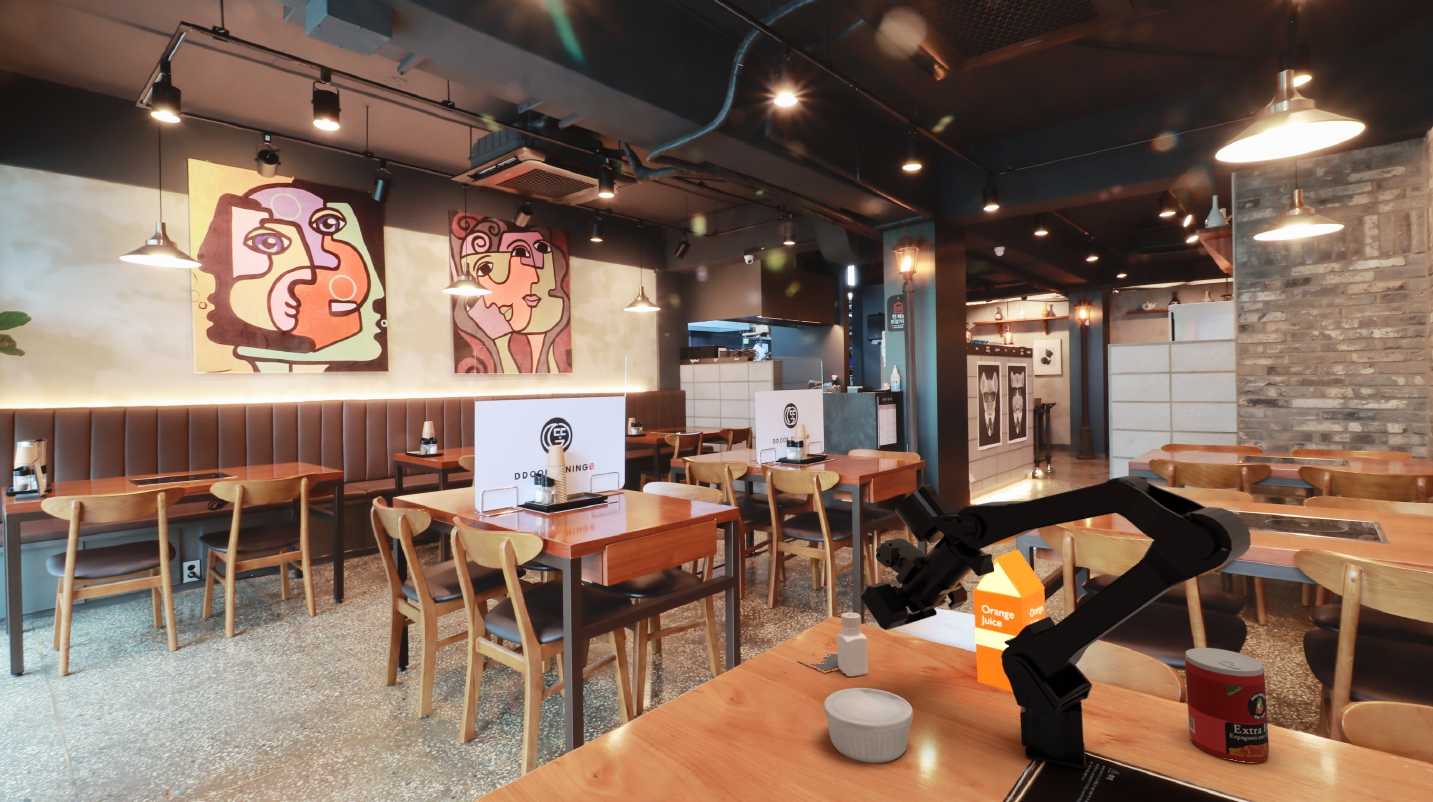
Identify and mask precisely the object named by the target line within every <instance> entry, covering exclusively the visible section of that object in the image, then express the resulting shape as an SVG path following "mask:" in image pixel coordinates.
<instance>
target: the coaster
mask: <svg viewBox="0 0 1433 802" xmlns="http://www.w3.org/2000/svg"><path fill="white" fill-rule="evenodd" d="M829 655H831V656H829ZM829 655H827V656H829V657H824V658H823V659H825V660H827V661H825V660H824V661H822V662H821V663H823V662H825V663H824V664H815V665H814V664H811V665H813V666H816V667H817V668H820V669H821V670H824V671H828V670H832V669H835V668H838V654H829ZM826 663H827V664H826Z"/></svg>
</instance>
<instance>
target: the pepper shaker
mask: <svg viewBox="0 0 1433 802" xmlns="http://www.w3.org/2000/svg"><path fill="white" fill-rule="evenodd" d="M840 616H841V629H842V631H841V632H839V633H838V634H837V635H836V644H837V645H836V648H837V650H836V651H838V668H839V669H840V670H841V671H842V672H841V671H840V670H839V669H838V670H839V671H840V672H841V673H843V674H844V673H845V674H846V675H845V674H844V675H845V676H847V677H849V676H850V677H849V678H851V677H857V676H864V675H868V673H869V658H868V657H869V653H868V638H867V636H866V635H865V634H864V633H862V630H861V629H862V616H861V615H860V613H857V612H844V613H842V614H841V615H840Z"/></svg>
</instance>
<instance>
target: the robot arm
mask: <svg viewBox="0 0 1433 802" xmlns="http://www.w3.org/2000/svg"><path fill="white" fill-rule="evenodd" d="M894 511H895V513H896V514H897V516H898V518H900V520H901V521H902V522H903V523H904V524H905V526H906V527H907V529H909V531H910V532H911V533H912V536H914V537H915V539H916V540H917V541H918V542H920V543H922V542H926V541H927V543H928V544H930V545H931V544H935V543H936V542H937V543H936V544H935V545H934V546H933V547H932V548H931V549H930V550H929V552H928V553H926V554H924V552H923V551H922V550H920V549H919V548H918V547H917V546H915V545H914V544H912V543H911V542H910V541H907V540H906V539H904V538H901V537H898V538H893V539H889V540H885V541H884V542H882V543H880V546H879V547H877V548H875V551H876V554H875V559H876V561H877V562H879V563H880V564H881V565H882V566H883V567H885V568H890V569H891V570H892V571H894V572H895V573H896V574H897V575H896V576H895V577H894V578H895V579H896V581H897V583H898V584H900V585H901V587H897V586H896V585H894V586H892V585H891V584H890V583H888V582H884V581H882V582H877V583H874V584H870V585H866V587H864V589H863V590H862V592H861V593H860V598H861V600H862V601H863V603H864V604H865V606H866V607H867V609H868V611H869V612H870V614H871V615H872V617H873V618H874V620H875V622H876V623H877V624H878V626H879V627H880V628H881V629H882V630H884V631H889V630H892V629H895V628H899V627H903V626H906V625H910V624H912V623H915V622H919V621H923V620H925V619H928V618H929V619H930V618H931V617H934V616H935V617H936V615H937V614H938V613H937V609H935V608H939V607H941V606H943V605H944V604H945V603H947V602H946V601H947V600H946V599H947V597H948V598H949V600H950V602H949V603H948V604H947V607H948V609H950V610H951V611H952V610H956V609H957V608H961V607H962V606H963V605H964V604H965V603H966V602H967V601H968V591H967V590H966V588H965V587H964V586H963V585H962V583H961V582H962V581H963V579H964V578H966V577H967V576H968V575H969V574H970V573H971V572H972V571H973V573H974V574H975V575H976V576H977V577H982V576H983V577H984V575H986V574H989V573H992V572H994V564H993V562H994V561H993V554H992V553H986V552H984V551H983V550H982V549H985V548H988V547H992V546H993V547H994V546H997V545H1001V544H1004V543H1008V542H1010V541H1012V540H1015V539H1017V538H1020V537H1022V536H1024V535H1027V534H1029V533H1031V532H1032V531H1035V530H1037V529H1042V528H1047V527H1052V526H1057V525H1062V524H1067V523H1071V522H1077V521H1082V520H1086V519H1092V518H1098V517H1101V516H1107V515H1111V514H1117V515H1118V516H1121V517H1123V518H1124V519H1125V520H1126V521H1128V522H1130V523H1131V525H1132V526H1134V527H1135V528H1137V529H1138V530H1139V531H1140V532H1141V533H1142V534H1144V535H1145V536H1146V537H1148V538H1149V539H1152V540H1153V541H1151V544H1150V545H1149V547H1148V548H1147V551H1145V553H1144V554H1143V557H1142V558H1141V559H1140V560H1139V561H1138V562H1137V563H1135V564H1134V565H1133V566H1132V567H1131V568H1130V569H1128V570H1126V572H1124V573H1123V574H1121V575H1120V576H1118V578H1116V579H1115V580H1113V581H1112V582H1110V584H1108V585H1106V586H1105V587H1104V588H1102V589H1101V590H1100V591H1098V592H1097V593H1096V594H1095V595H1093V596H1092V597H1091V598H1089V599H1088V600H1087V601H1086V602H1084V603H1082V604H1081V605H1080V606H1079V607H1078V608H1076V609H1075V610H1074V611H1073V612H1071V613H1070V614H1068V615H1067V616H1065V617H1064V618H1063V619H1062V620H1060V621H1059V622H1058V623H1055V622H1054V621H1053V619H1052V617H1051V616H1050V615H1049V616H1045V617H1046V618H1043V619H1041V620H1039V621H1036V622H1034V623H1031V624H1029V625H1026V626H1025V627H1024V628H1023V629H1022V630H1021V631H1020V633H1019V634H1018V635H1017V636H1016V637H1014V638H1011V639H1009V640H1006V641H1005V642H1004V643H1005V644H1006V645H1008V647H1007V648H1005V650H1004V651H1003V652H1002V655H1001V659H1002V667H1003V670H1004V673H1005V674H1006V676H1007V678H1008V679H1009V682H1010V685H1011V688H1012V690H1013V692H1012V694H1013V696H1014V698H1015V701H1016V704H1017V706H1019V707H1020V711H1019V718H1020V721H1019V722H1020V739H1021V741H1020V742H1021V745H1022V746H1023V747H1025V753H1024V754H1025V755H1024V756H1025V758H1027V759H1030V760H1035V761H1039V762H1044V761H1045V763H1049V762H1050V763H1051V764H1055V765H1059V766H1060V765H1061V766H1064V765H1065V766H1066V767H1070V766H1075V767H1080V768H1086V769H1087V761H1086V760H1087V759H1086V746H1085V745H1086V744H1085V742H1084V725H1083V724H1084V723H1083V709H1082V701H1083V700H1086V699H1088V698H1089V696H1090V693H1091V690H1092V687H1093V683H1091V681H1090V680H1089V679H1088V677H1086V675H1085V674H1084V673H1083V672H1082V671H1081V670H1080V669H1079V667H1078V666H1077V664H1078V663H1079V662H1080V660H1081V659H1082V657H1083V655H1084V653H1085V652H1086V650H1087V649H1088V648H1089V647H1090V646H1092V645H1093V644H1094V643H1096V642H1097V641H1099V640H1100V639H1101V638H1103V637H1104V636H1105V635H1107V634H1109V632H1111V631H1112V630H1114V629H1116V628H1117V627H1119V626H1120V625H1121V624H1123V623H1124V622H1126V620H1128V619H1130V618H1131V617H1132V616H1133V617H1134V615H1136V614H1137V613H1139V612H1140V611H1141V610H1143V609H1145V607H1148V605H1150V604H1151V603H1153V602H1154V601H1155V600H1157V599H1158V598H1160V597H1161V596H1163V595H1164V594H1166V593H1167V592H1169V591H1170V590H1172V589H1173V588H1174V587H1176V586H1177V585H1179V584H1182V583H1184V582H1186V581H1189V580H1192V579H1194V578H1196V577H1198V576H1200V575H1203V574H1205V573H1207V572H1209V571H1212V570H1215V569H1216V568H1219V567H1221V566H1224V565H1225V564H1227V563H1230V562H1232V561H1234V560H1237V559H1239V558H1241V557H1242V556H1244V555H1245V554H1246V553H1247V552H1248V550H1249V549H1250V547H1251V545H1252V541H1251V533H1250V532H1251V531H1250V529H1249V527H1248V525H1247V524H1246V523H1245V521H1244V520H1243V519H1242V518H1241V517H1240V516H1239V515H1237V514H1236V513H1234V512H1233V511H1231V510H1228V509H1225V508H1224V507H1213V506H1208V507H1207V506H1204V505H1203V504H1201V503H1199V502H1196V501H1195V500H1194V499H1190V498H1188V497H1185V496H1184V495H1183V496H1182V495H1179V494H1177V493H1174V492H1172V491H1170V490H1166V489H1163V488H1161V487H1158V486H1157V485H1154V484H1153V483H1150V482H1149V481H1146V480H1144V479H1143V478H1142V477H1140V476H1137V475H1136V476H1135V475H1125V476H1119V477H1113V478H1110V479H1108V480H1106V481H1105V482H1101V483H1097V484H1093V485H1090V486H1089V485H1088V486H1085V487H1081V488H1080V487H1079V488H1076V489H1073V490H1068V491H1063V492H1060V493H1055V494H1050V495H1048V496H1047V495H1045V496H1043V497H1039V498H1038V497H1037V498H1034V499H1029V500H1006V501H1005V500H1004V501H1003V500H1002V501H989V502H984V503H979V504H973V505H968V506H964V507H961V508H960V509H959V510H954V511H952V509H950V507H949V506H948V505H947V504H946V503H945V502H944V500H942V498H941V497H940V496H939V494H938V492H937V490H936V489H935V488H934V487H933V486H932V484H928V485H927V484H926V485H922V486H921V487H920V488H919V489H918V490H916V491H914V492H912V493H910V494H909V495H908V496H906V497H905V498H904V499H901V500H900V501H899V502H898V503H897V504H896V507H895V509H894ZM1075 767H1074V768H1075ZM1080 768H1079V769H1080Z"/></svg>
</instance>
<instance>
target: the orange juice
mask: <svg viewBox="0 0 1433 802" xmlns="http://www.w3.org/2000/svg"><path fill="white" fill-rule="evenodd" d="M992 562H993V564H994V572H992V573H989V574H986V575H983V577H982V578H981V579H980V581H979V582H978V584H977V585H976V587H975V588H974V589H973V606H974V607H973V608H974V609H973V610H974V625H975V626H974V635H975V636H974V637H975V640H974V641H975V649H976V651H975V653H976V654H975V655H976V670H977V671H976V672H977V674H976V675H977V682H978V683H982V684H984V685H988V686H992V687H995V688H999V689H1001V690H1002V689H1003V690H1005V691H1009V692H1012V693H1013V690H1012V688H1011V685H1010V682H1009V679H1008V678H1007V676H1006V674H1005V673H1004V670H1003V667H1002V659H1001V655H1002V652H1003V651H1004V650H1005V648H1007V647H1008V645H1006V644H1005V643H1004V642H1005V641H1006V640H1009V639H1011V638H1014V637H1016V636H1017V635H1018V634H1019V633H1020V631H1021V630H1022V629H1023V628H1024V627H1025V626H1026V625H1029V624H1031V623H1034V622H1036V621H1039V620H1041V619H1043V618H1046V617H1047V616H1046V601H1045V599H1046V598H1045V588H1046V587H1045V586H1044V585H1043V583H1042V581H1040V579H1039V578H1038V576H1037V574H1036V573H1035V571H1034V570H1033V568H1032V567H1031V565H1030V564H1029V563H1028V561H1026V558H1025V557H1024V556H1023V554H1022V553H1021V551H1020V550H1019V549H1016V550H1014V551H1011V552H1009V553H1006V554H1002V555H1000V556H997V557H995V560H994V561H992Z"/></svg>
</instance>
